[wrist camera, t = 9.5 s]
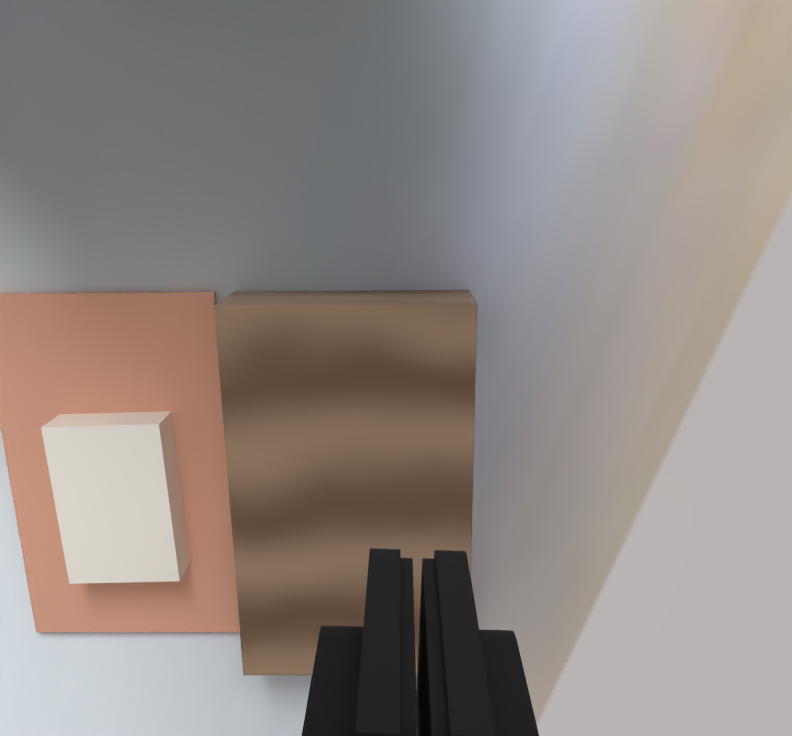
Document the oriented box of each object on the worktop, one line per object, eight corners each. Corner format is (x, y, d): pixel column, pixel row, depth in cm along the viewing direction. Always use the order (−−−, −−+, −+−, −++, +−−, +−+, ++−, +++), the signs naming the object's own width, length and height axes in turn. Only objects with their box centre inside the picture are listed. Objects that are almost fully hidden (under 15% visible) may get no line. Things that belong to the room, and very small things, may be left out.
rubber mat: (-18, 293, 36) (-23, 294, 35) (214, 291, 36) (212, 293, 35) (39, 628, 41) (36, 632, 41) (241, 627, 41) (240, 632, 41)
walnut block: (234, 291, 36) (213, 306, 32) (468, 290, 35) (476, 304, 32) (258, 627, 41) (243, 675, 37) (462, 627, 41) (468, 675, 37)
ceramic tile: (158, 424, 35) (171, 411, 37) (41, 427, 35) (59, 414, 37) (179, 581, 37) (190, 561, 39) (69, 583, 38) (85, 563, 39)
